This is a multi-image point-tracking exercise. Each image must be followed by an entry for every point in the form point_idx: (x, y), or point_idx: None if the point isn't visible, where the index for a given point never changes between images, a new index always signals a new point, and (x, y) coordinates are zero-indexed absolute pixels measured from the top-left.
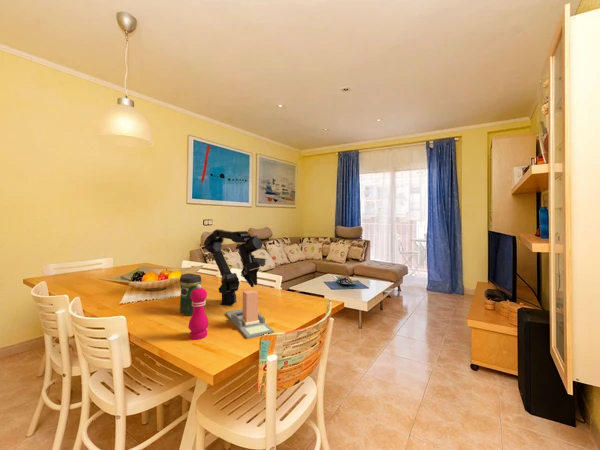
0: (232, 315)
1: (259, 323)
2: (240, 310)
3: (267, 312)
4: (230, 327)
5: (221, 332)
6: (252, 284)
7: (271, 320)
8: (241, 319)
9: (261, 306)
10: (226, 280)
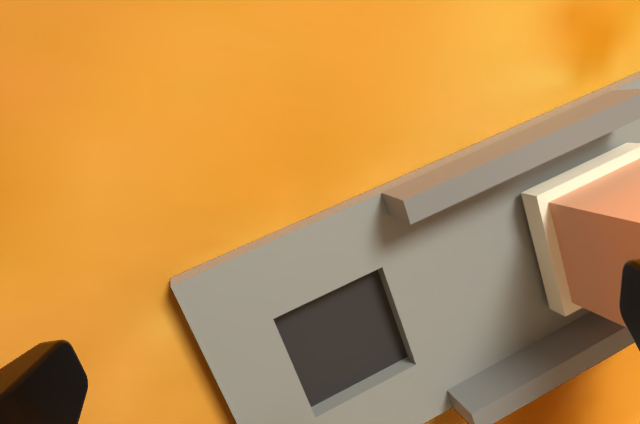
0: (510, 409)
1: (615, 141)
2: (249, 363)
3: (275, 35)
4: None
5: (632, 407)
6: (40, 409)
7: (510, 16)
8: (574, 309)
9: (10, 102)
10: None
